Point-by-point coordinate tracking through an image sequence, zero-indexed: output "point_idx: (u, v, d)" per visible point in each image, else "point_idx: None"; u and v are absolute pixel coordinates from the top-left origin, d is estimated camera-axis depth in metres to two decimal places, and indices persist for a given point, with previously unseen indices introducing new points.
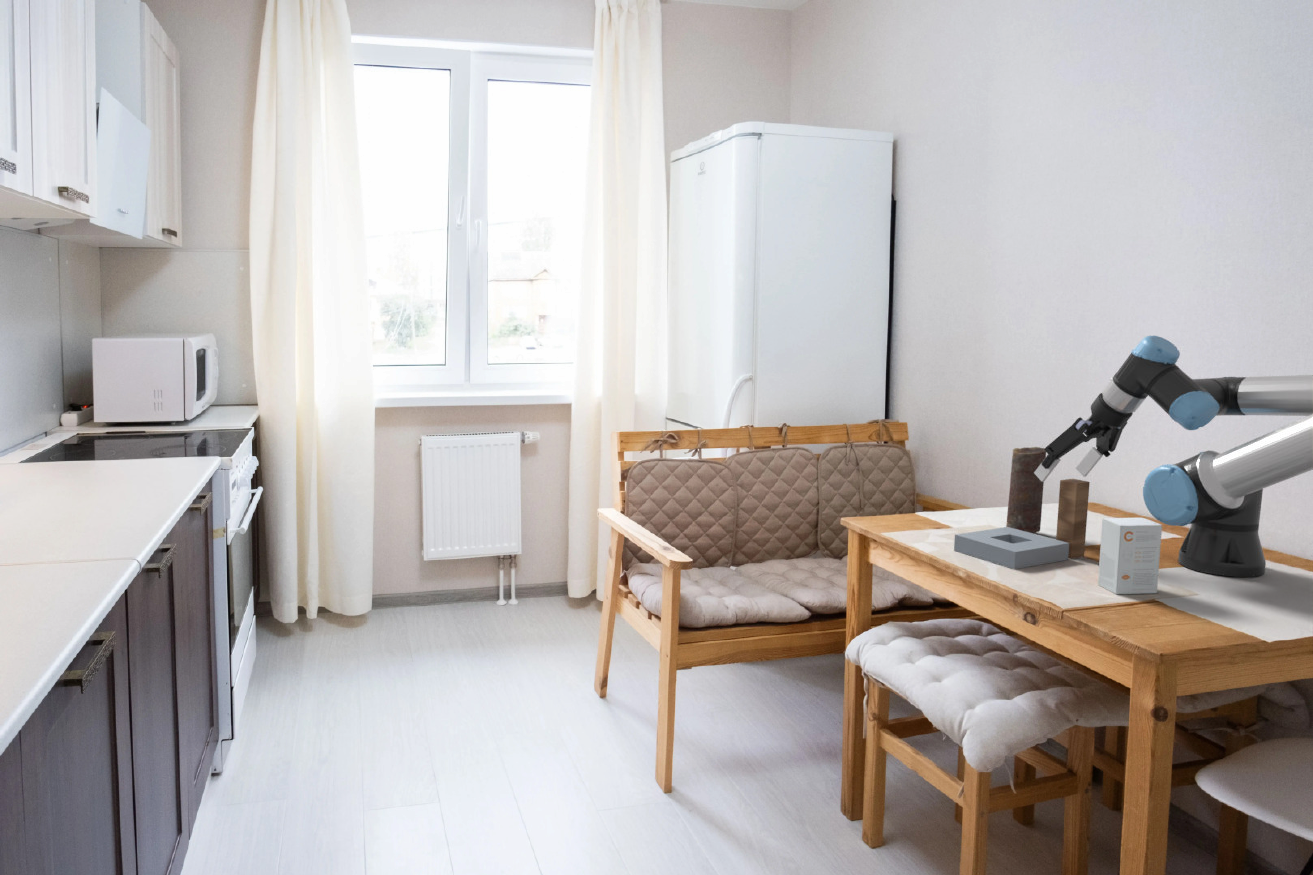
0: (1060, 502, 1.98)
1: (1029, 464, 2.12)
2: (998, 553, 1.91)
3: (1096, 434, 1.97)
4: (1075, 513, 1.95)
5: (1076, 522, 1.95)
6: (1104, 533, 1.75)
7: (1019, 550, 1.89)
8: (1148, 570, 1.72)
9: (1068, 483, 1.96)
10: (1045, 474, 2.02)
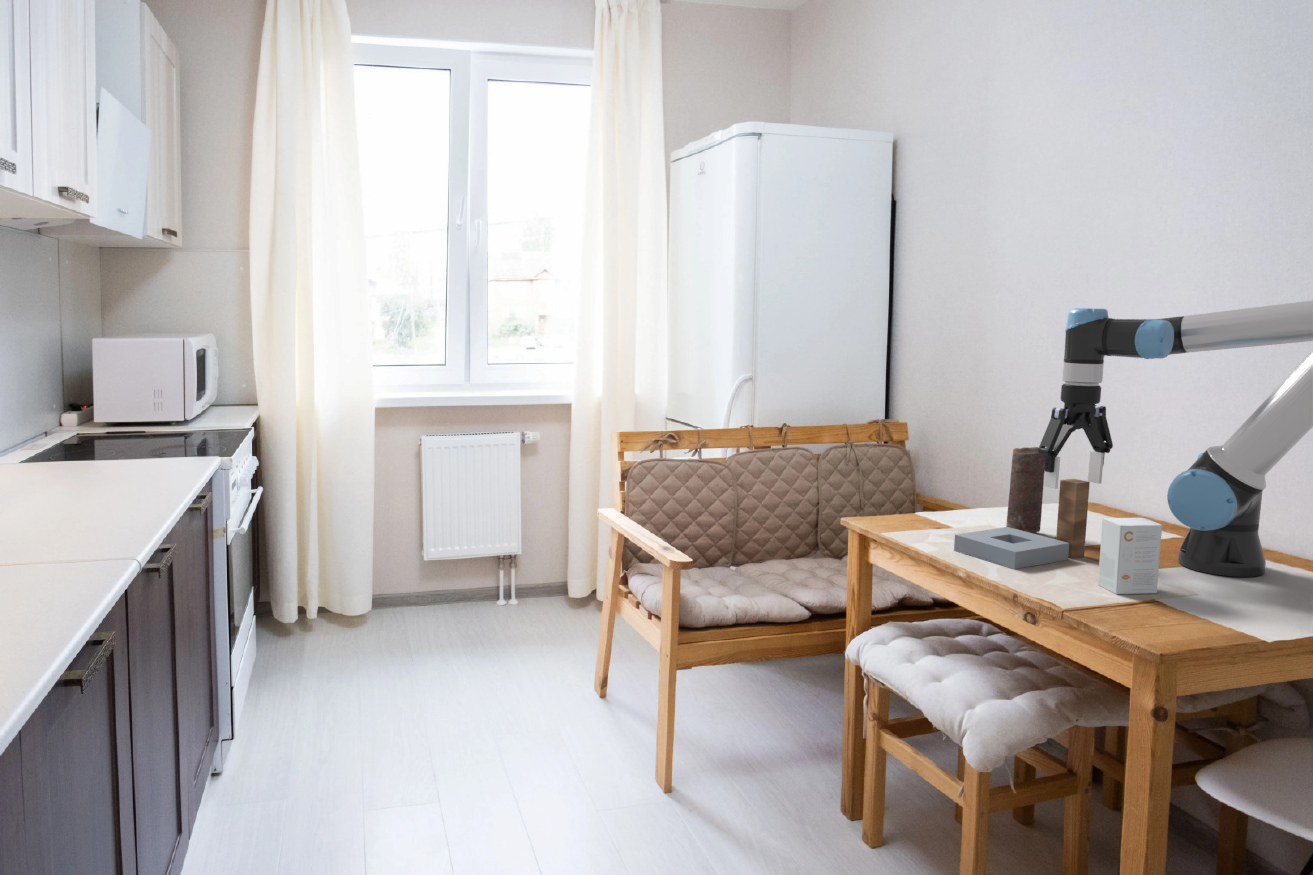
0: (1060, 502, 1.98)
1: (1029, 464, 2.12)
2: (998, 553, 1.91)
3: (1079, 419, 1.92)
4: (1075, 513, 1.95)
5: (1076, 522, 1.95)
6: (1104, 533, 1.75)
7: (1019, 550, 1.89)
8: (1148, 570, 1.72)
9: (1068, 483, 1.95)
10: (1054, 479, 1.92)
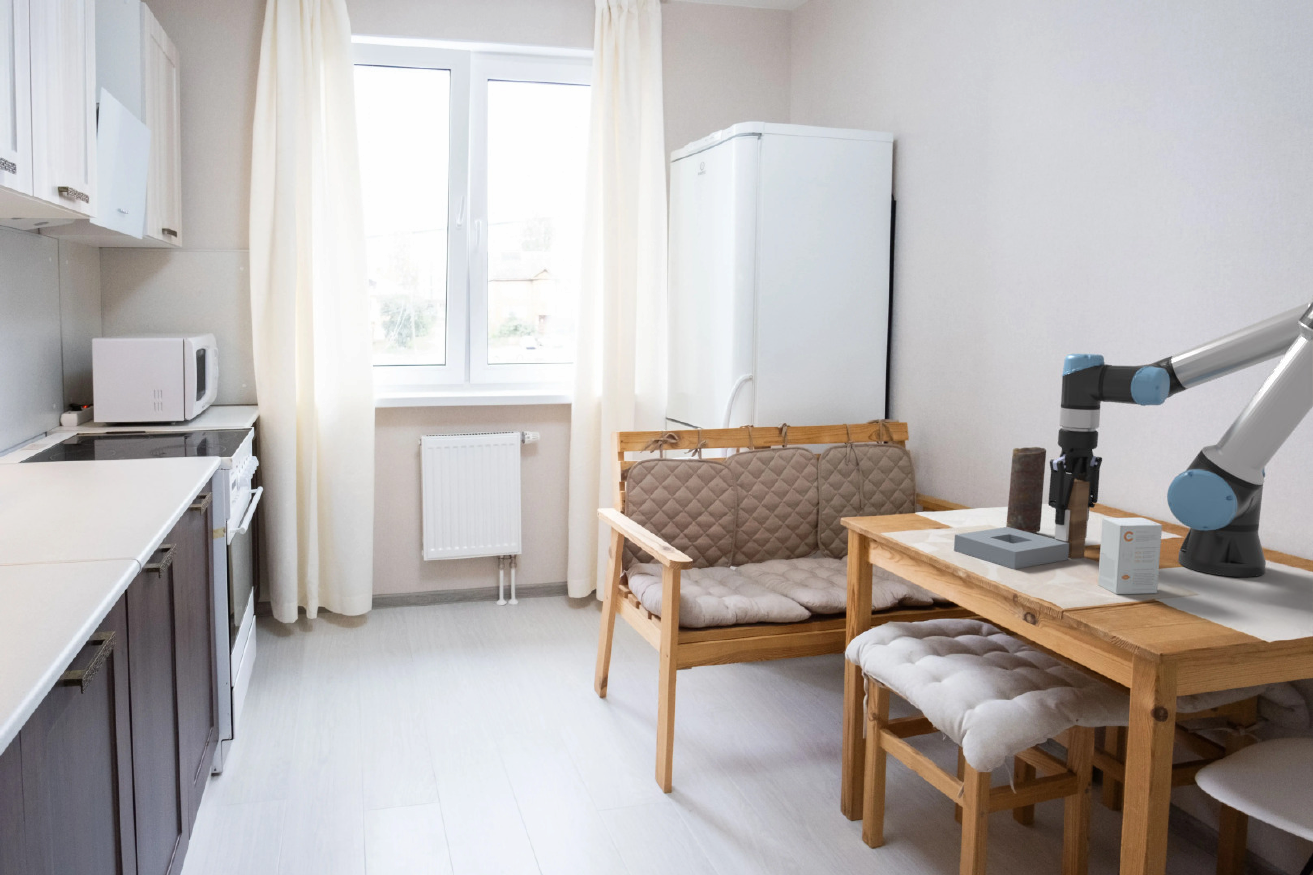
0: None
1: (1029, 464, 2.12)
2: (998, 553, 1.91)
3: (1077, 464, 1.93)
4: (1075, 513, 1.95)
5: (1076, 522, 1.95)
6: (1104, 533, 1.75)
7: (1019, 550, 1.89)
8: (1148, 570, 1.72)
9: None
10: (1064, 532, 1.95)
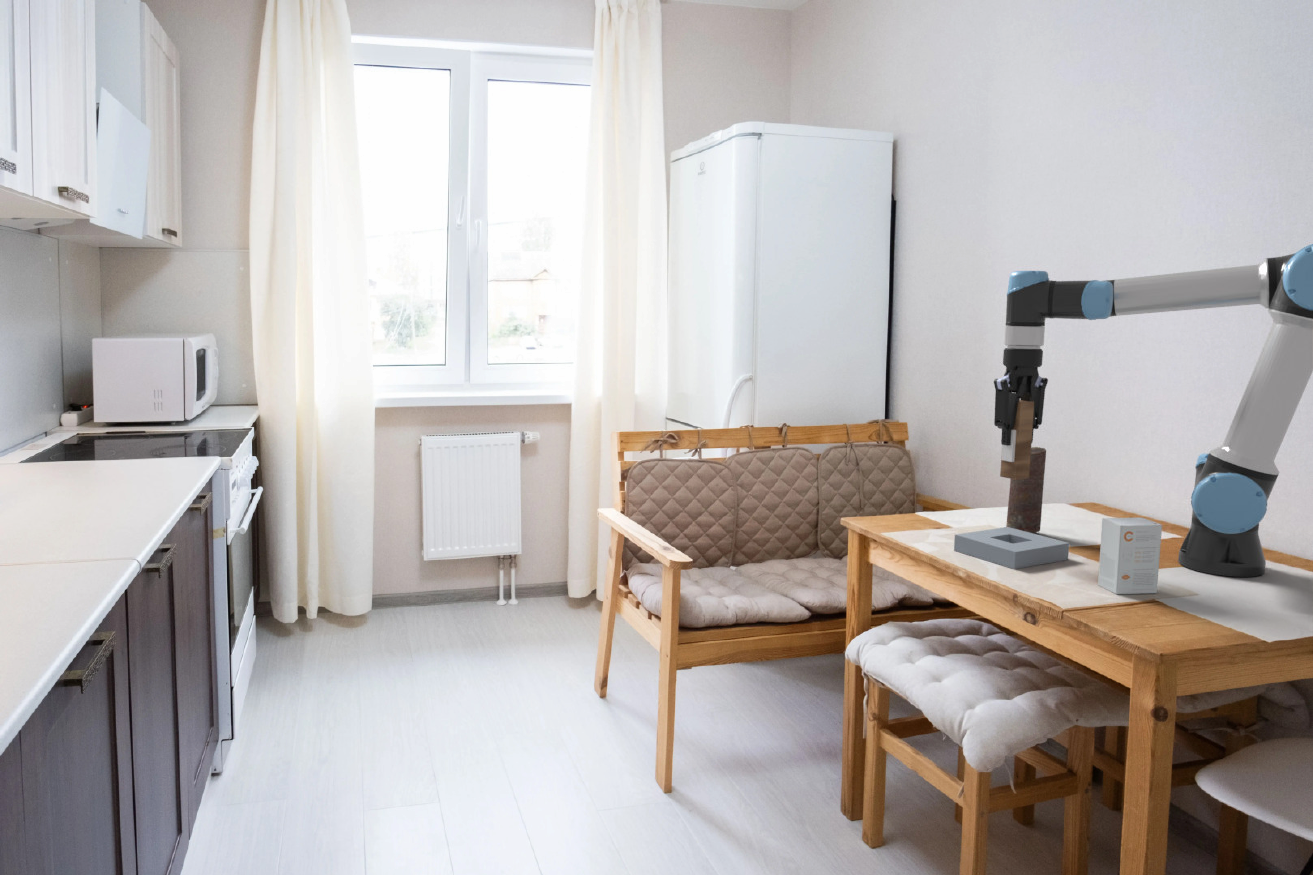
0: None
1: None
2: (998, 553, 1.91)
3: (1021, 383, 1.91)
4: (1019, 433, 1.93)
5: (1021, 442, 1.93)
6: (1104, 533, 1.75)
7: (1019, 550, 1.89)
8: (1148, 570, 1.72)
9: None
10: (1011, 452, 1.94)
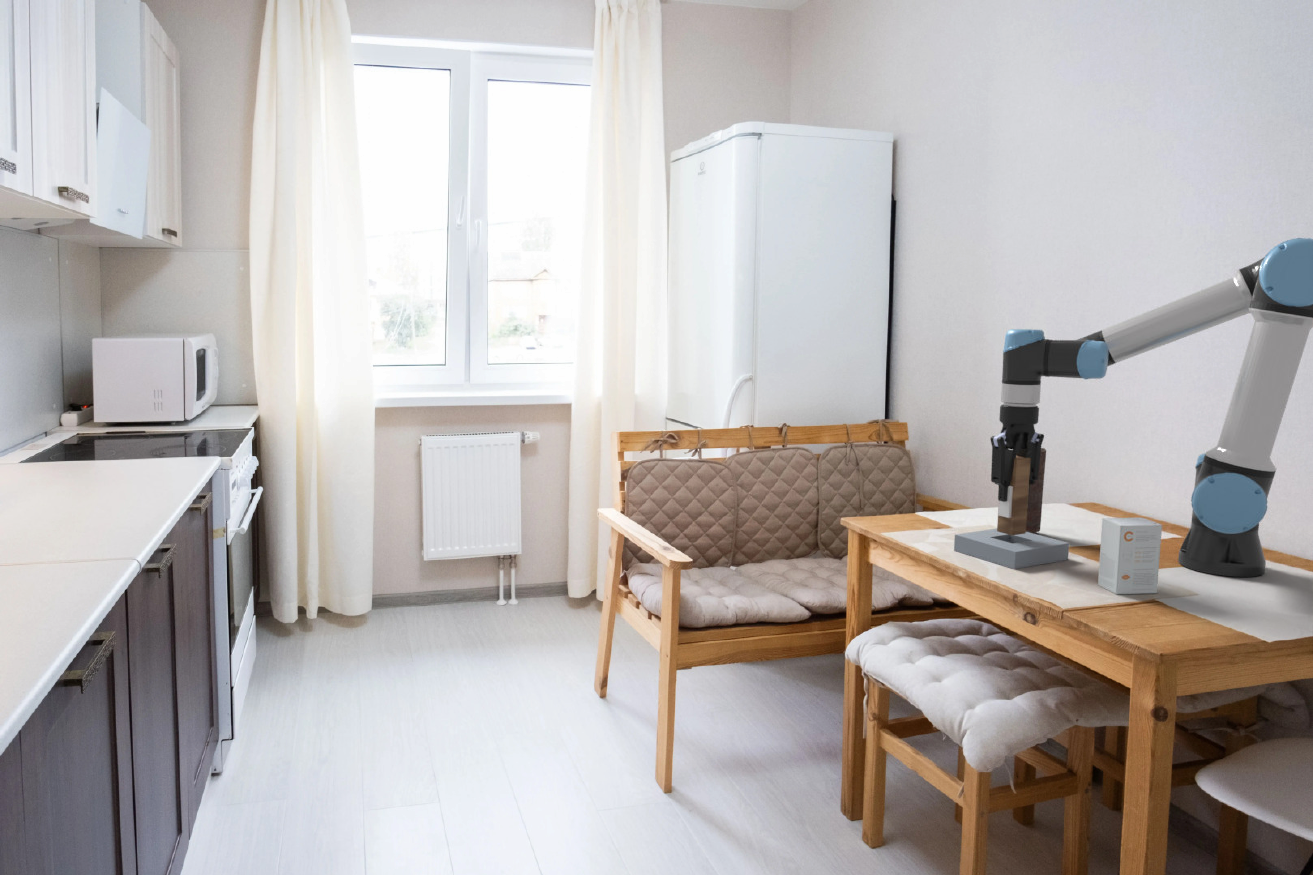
0: None
1: None
2: (998, 553, 1.91)
3: (1017, 440, 1.93)
4: (1015, 489, 1.94)
5: (1017, 498, 1.95)
6: (1104, 533, 1.75)
7: (1019, 550, 1.89)
8: (1148, 570, 1.72)
9: None
10: (1007, 508, 1.95)
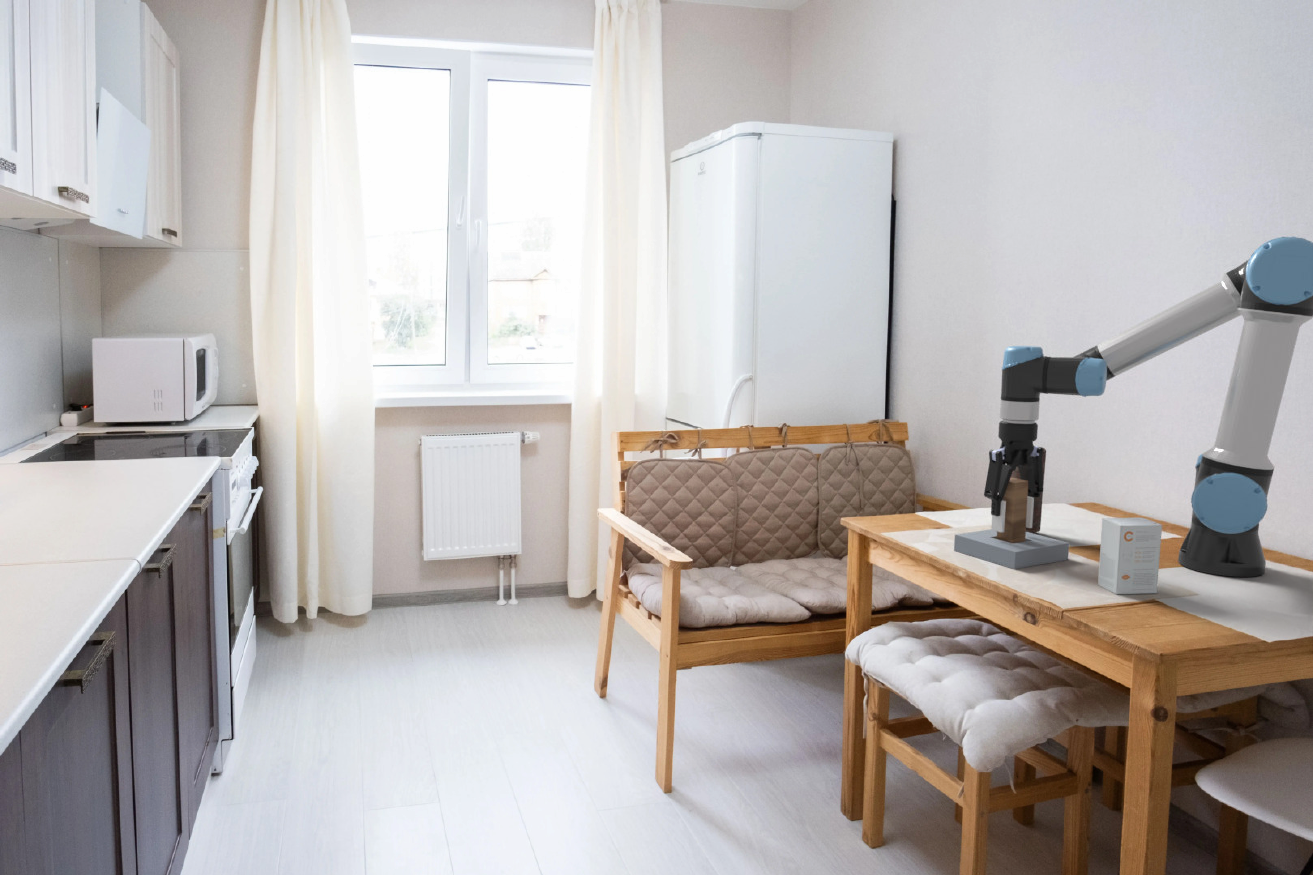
0: None
1: None
2: (998, 553, 1.91)
3: (1016, 457, 1.93)
4: (1013, 512, 1.95)
5: (1016, 521, 1.95)
6: (1104, 533, 1.75)
7: (1019, 550, 1.89)
8: (1148, 570, 1.72)
9: None
10: (1000, 523, 1.95)
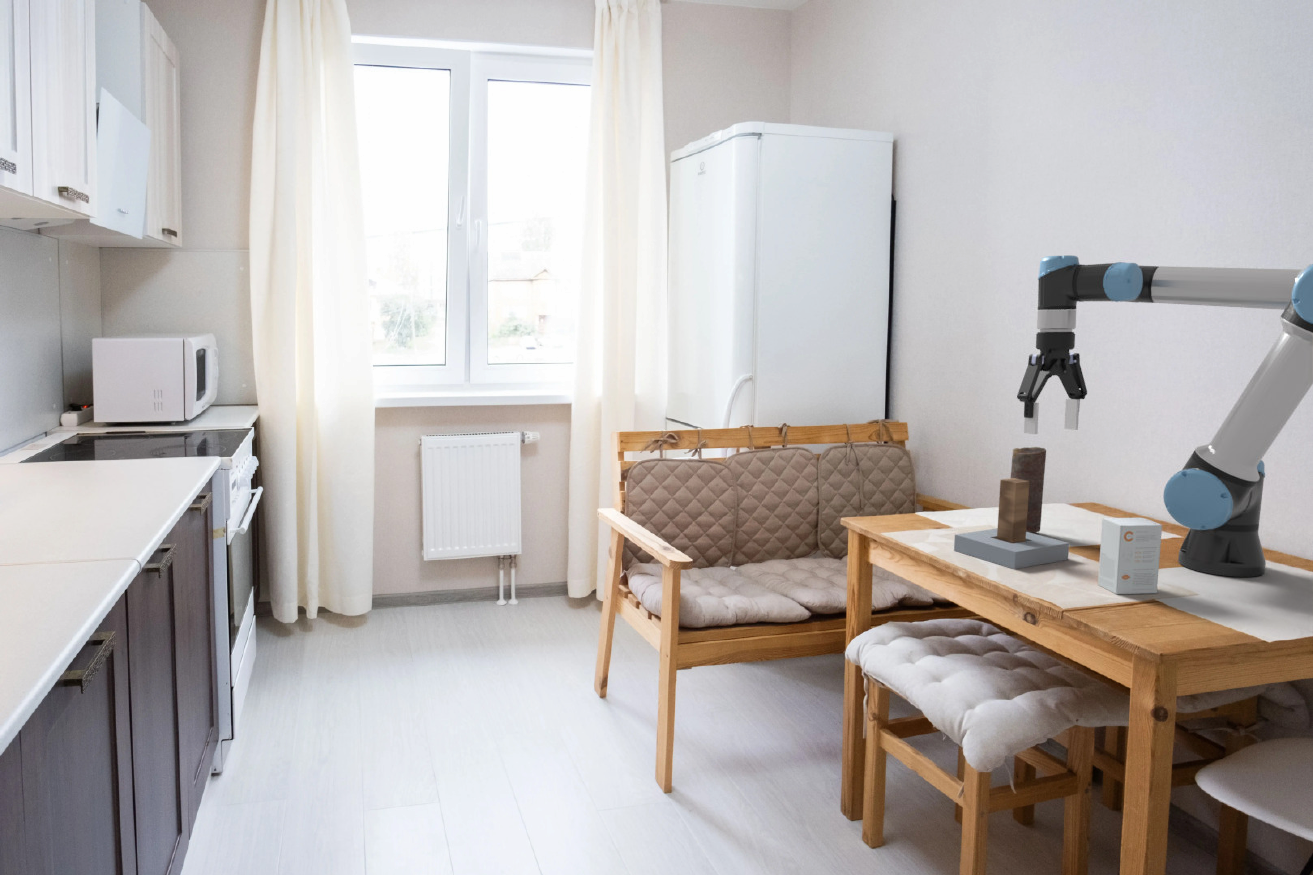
0: (1000, 501, 1.98)
1: (1029, 464, 2.12)
2: (998, 553, 1.91)
3: (1055, 365, 1.96)
4: (1014, 512, 1.95)
5: (1016, 521, 1.95)
6: (1104, 533, 1.75)
7: (1019, 550, 1.89)
8: (1148, 570, 1.72)
9: (1008, 482, 1.96)
10: (1034, 425, 1.95)
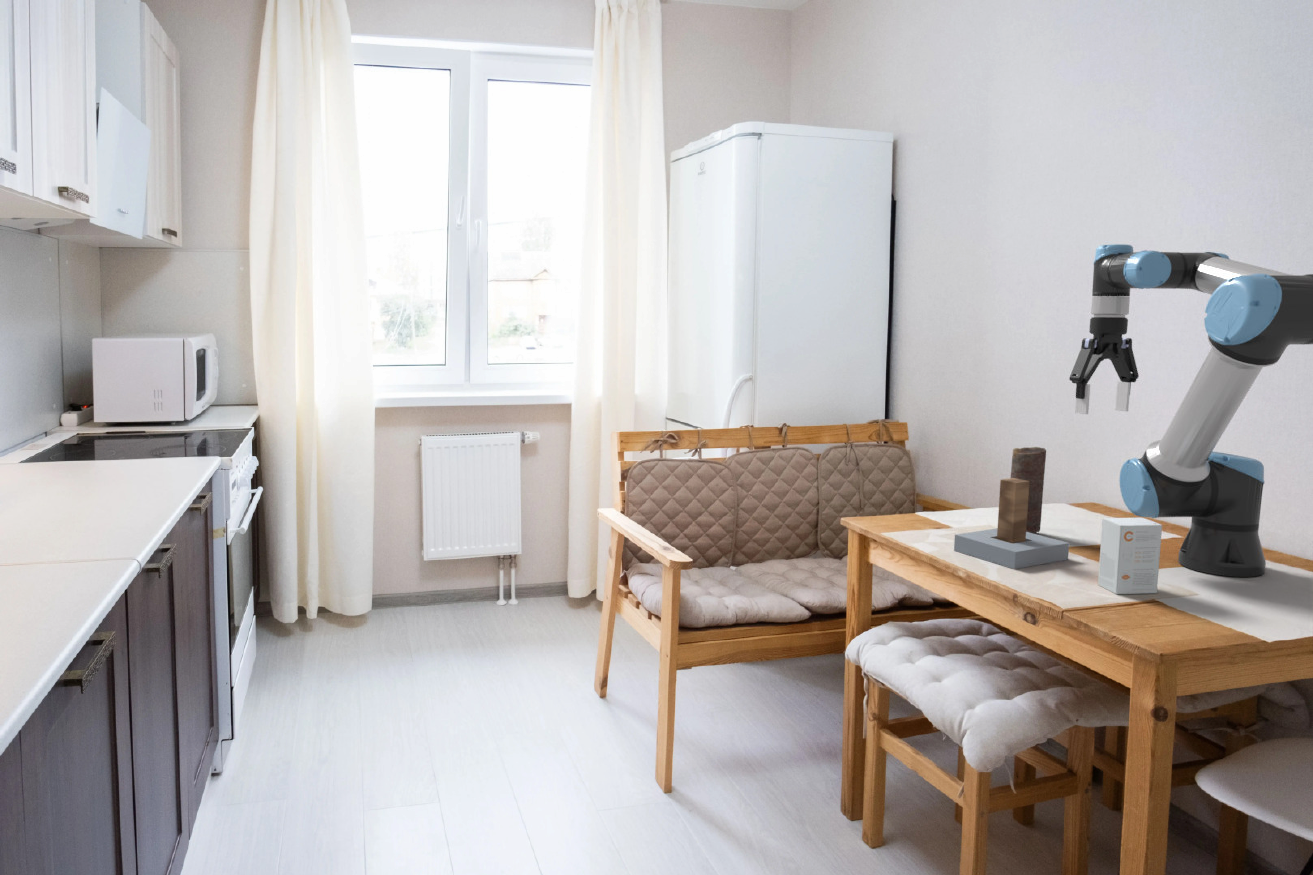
0: (1000, 501, 1.98)
1: (1029, 464, 2.12)
2: (998, 553, 1.91)
3: (1108, 349, 2.06)
4: (1014, 512, 1.95)
5: (1016, 521, 1.95)
6: (1104, 533, 1.75)
7: (1019, 550, 1.89)
8: (1148, 570, 1.72)
9: (1008, 482, 1.96)
10: (1085, 405, 2.06)
